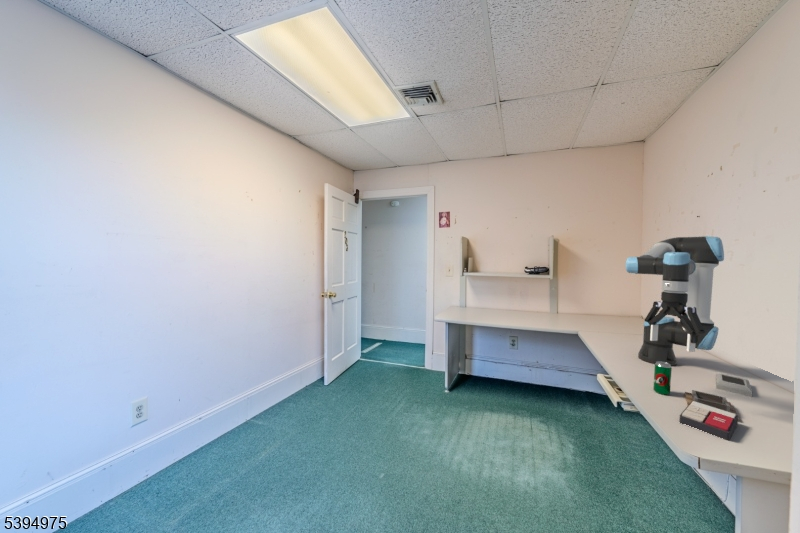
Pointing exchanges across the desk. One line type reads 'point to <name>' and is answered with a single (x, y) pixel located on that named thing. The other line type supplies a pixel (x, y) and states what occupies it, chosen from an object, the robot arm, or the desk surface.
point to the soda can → (662, 377)
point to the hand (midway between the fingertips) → (671, 345)
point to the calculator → (710, 420)
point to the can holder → (710, 400)
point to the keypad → (733, 384)
